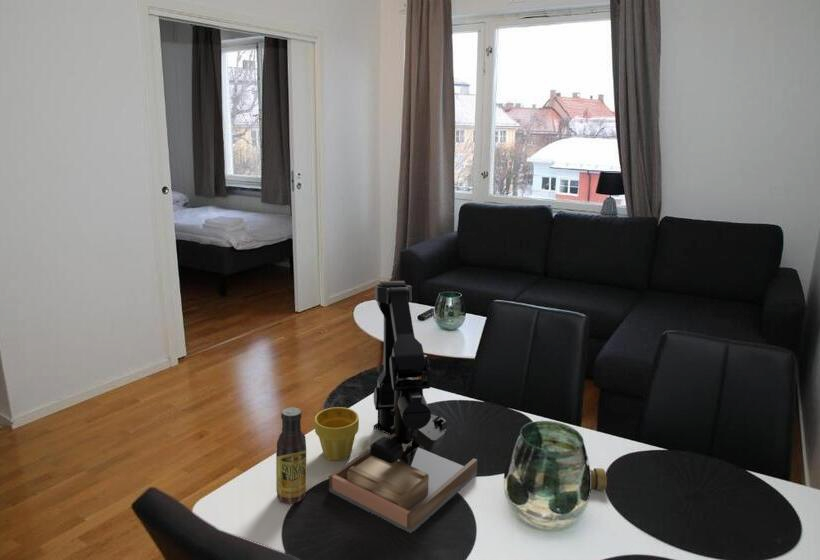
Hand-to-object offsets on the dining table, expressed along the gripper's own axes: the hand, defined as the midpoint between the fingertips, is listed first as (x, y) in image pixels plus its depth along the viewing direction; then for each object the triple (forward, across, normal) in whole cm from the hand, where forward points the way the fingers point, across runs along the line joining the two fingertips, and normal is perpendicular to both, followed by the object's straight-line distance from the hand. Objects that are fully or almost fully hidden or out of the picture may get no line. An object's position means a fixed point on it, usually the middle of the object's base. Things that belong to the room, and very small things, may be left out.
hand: (406, 470), depth 131 cm
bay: (+3, -1, 0) cm, 3 cm away
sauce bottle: (+3, -19, +16) cm, 25 cm away
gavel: (+4, +30, -27) cm, 40 cm away
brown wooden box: (+2, -7, 0) cm, 7 cm away
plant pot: (+3, -1, +20) cm, 20 cm away
